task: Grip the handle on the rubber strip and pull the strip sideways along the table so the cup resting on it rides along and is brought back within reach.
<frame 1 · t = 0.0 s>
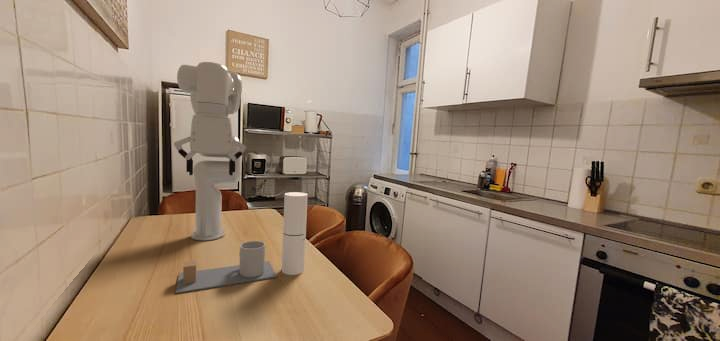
hand: (211, 174, 79), 31 cm above the table, tool pointing down, fingers open, 9 cm apart
cup: (249, 272, 90), resting on strip
strip: (228, 267, 87), point 3 cm above the table, slide at 0.0 cm, touching cup
cylindrical container: (293, 270, 94), on the table
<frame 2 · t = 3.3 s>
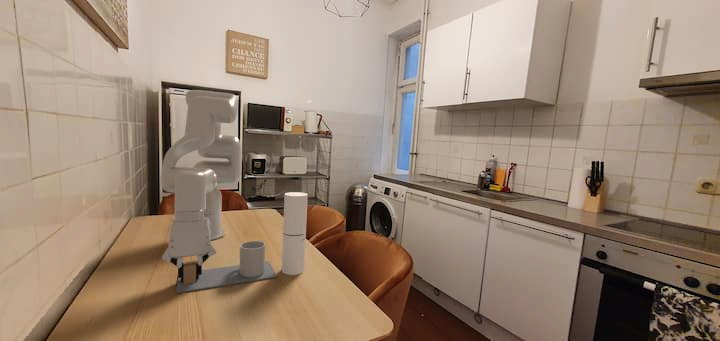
hand: (190, 277, 82), 1 cm above the table, tool pointing down, fingers closed on strip, 3 cm apart
strip: (228, 267, 87), point 3 cm above the table, slide at 0.0 cm, touching cup, gripper
everything else where it was.
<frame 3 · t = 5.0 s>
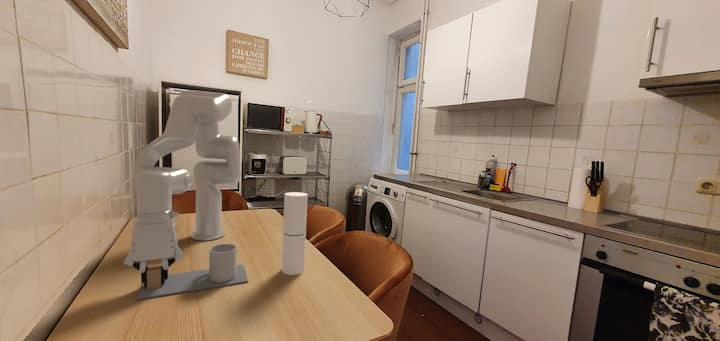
hand: (155, 282, 78), 1 cm above the table, tool pointing down, fingers closed on strip, 3 cm apart
cup: (220, 276, 86), resting on strip
strip: (197, 271, 83), point 3 cm above the table, slide at 8.2 cm, touching cup, gripper
everything else where it was.
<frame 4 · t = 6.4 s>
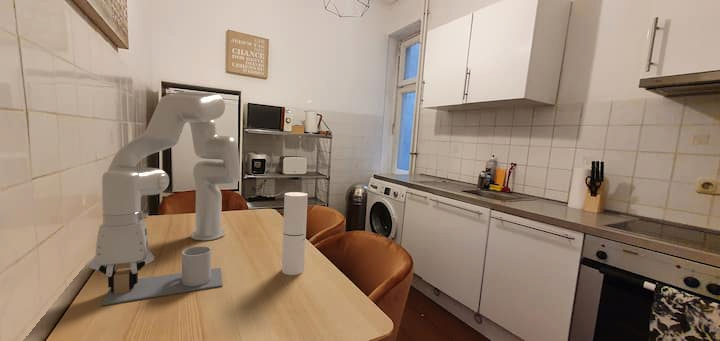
hand: (123, 287, 75), 1 cm above the table, tool pointing down, fingers closed on strip, 3 cm apart
cup: (194, 280, 83), resting on strip
strip: (169, 275, 80), point 3 cm above the table, slide at 14.9 cm, touching cup, gripper
everything else where it was.
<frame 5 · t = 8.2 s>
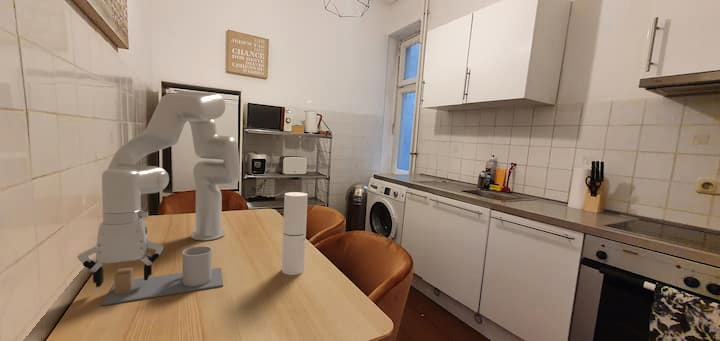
hand: (124, 281, 75), 3 cm above the table, tool pointing down, fingers open, 9 cm apart
strip: (170, 275, 80), point 3 cm above the table, slide at 14.8 cm, touching cup
everything else where it was.
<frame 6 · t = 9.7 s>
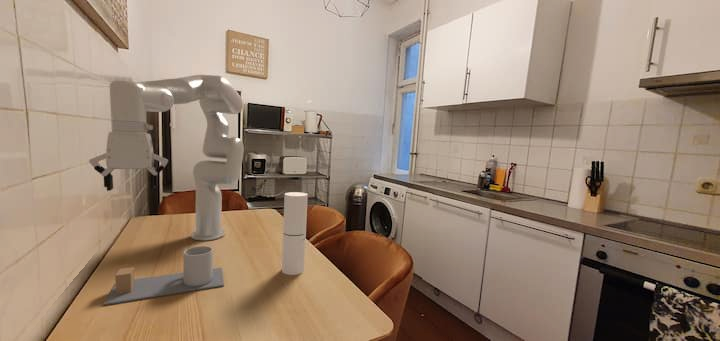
hand: (132, 189, 82), 26 cm above the table, tool pointing down, fingers open, 9 cm apart
nothing on the table moved.
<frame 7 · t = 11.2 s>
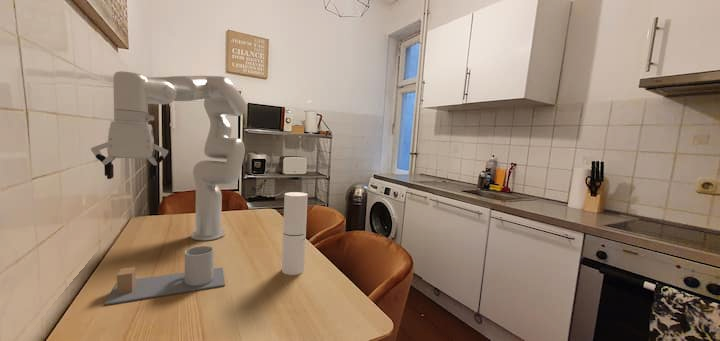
hand: (132, 178, 83), 28 cm above the table, tool pointing down, fingers open, 9 cm apart
nothing on the table moved.
at the end: strip slide at 14.3 cm; cup inside the target area (0.7 cm from its centre), resting on strip; cup tilted 0° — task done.
